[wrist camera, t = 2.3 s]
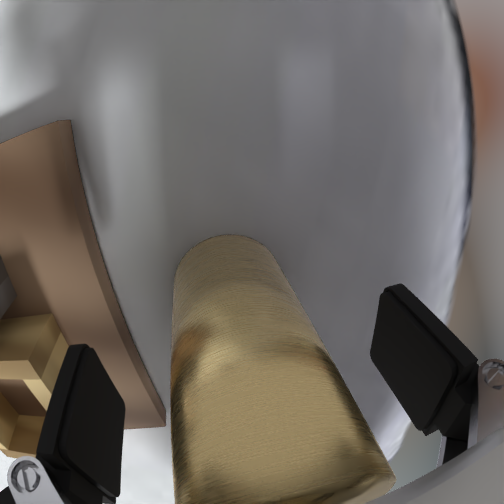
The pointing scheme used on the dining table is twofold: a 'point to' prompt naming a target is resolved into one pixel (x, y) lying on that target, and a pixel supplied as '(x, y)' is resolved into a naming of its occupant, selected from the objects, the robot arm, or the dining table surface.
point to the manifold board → (55, 290)
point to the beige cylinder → (259, 391)
